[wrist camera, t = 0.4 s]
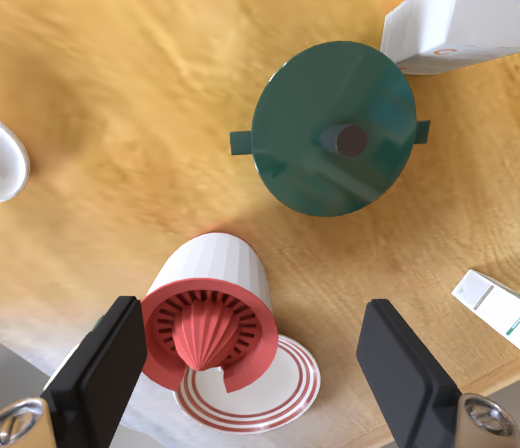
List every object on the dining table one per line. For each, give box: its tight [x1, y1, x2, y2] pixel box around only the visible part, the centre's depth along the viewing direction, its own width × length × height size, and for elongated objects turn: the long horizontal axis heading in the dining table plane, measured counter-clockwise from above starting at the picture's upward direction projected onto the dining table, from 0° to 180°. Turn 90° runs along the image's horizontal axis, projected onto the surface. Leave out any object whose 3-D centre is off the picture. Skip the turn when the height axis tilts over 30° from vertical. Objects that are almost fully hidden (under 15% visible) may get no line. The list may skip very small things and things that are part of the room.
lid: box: [251, 41, 417, 217], centre depth 26 cm, size 17×17×6 cm
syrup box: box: [451, 269, 520, 349], centre depth 40 cm, size 6×6×14 cm
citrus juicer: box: [141, 232, 279, 393], centre depth 34 cm, size 16×17×20 cm
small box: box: [380, 0, 520, 75], centre depth 28 cm, size 8×6×13 cm
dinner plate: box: [173, 334, 321, 435], centre depth 51 cm, size 28×27×3 cm
